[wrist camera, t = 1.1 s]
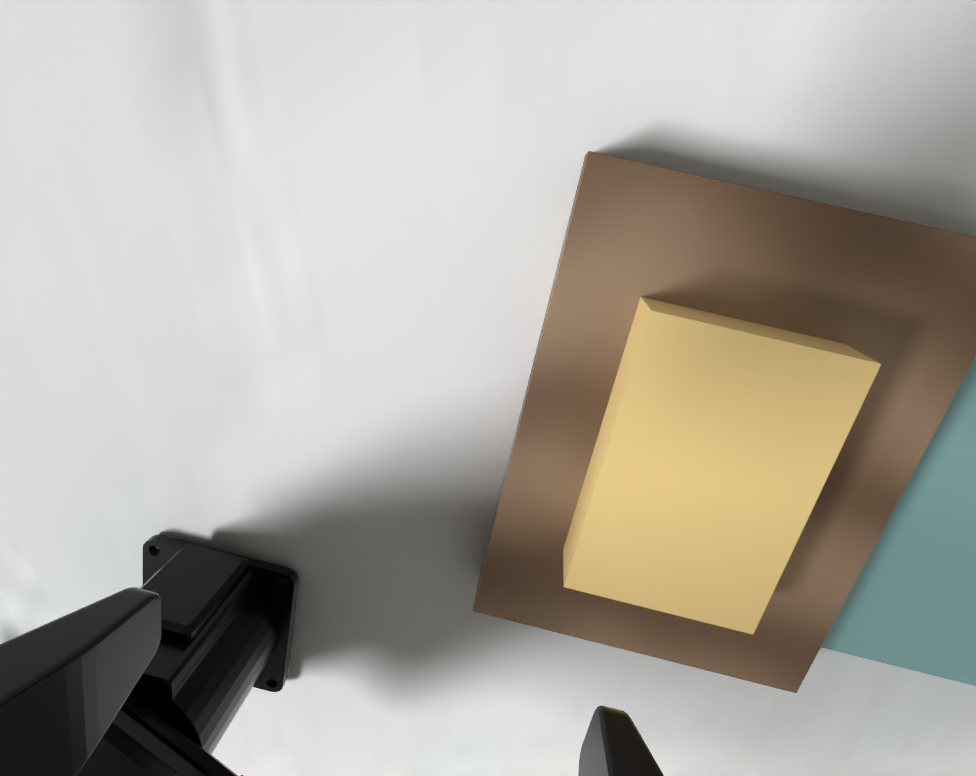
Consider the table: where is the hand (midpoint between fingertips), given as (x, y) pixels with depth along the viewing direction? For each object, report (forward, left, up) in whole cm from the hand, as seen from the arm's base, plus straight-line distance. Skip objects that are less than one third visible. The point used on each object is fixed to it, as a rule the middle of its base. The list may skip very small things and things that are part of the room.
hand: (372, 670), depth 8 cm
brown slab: (0, -8, -13) cm, 15 cm away
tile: (0, -7, -11) cm, 13 cm away
